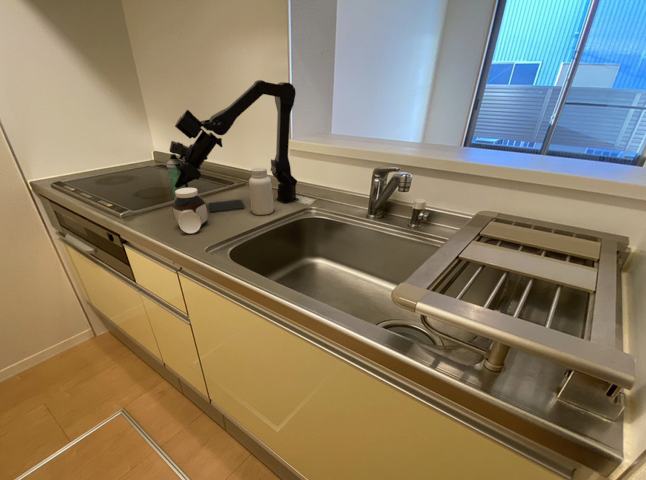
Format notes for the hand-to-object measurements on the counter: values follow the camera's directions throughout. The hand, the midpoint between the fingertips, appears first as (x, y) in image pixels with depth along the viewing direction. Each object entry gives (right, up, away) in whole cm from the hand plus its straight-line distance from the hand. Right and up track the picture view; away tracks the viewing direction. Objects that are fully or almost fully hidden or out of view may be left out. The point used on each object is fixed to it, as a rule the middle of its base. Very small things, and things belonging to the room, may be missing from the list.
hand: (175, 185), depth 119 cm
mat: (+15, -4, +11) cm, 19 cm away
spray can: (+1, -8, +6) cm, 10 cm away
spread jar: (+8, -16, -6) cm, 19 cm away
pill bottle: (+30, -8, +6) cm, 32 cm away
